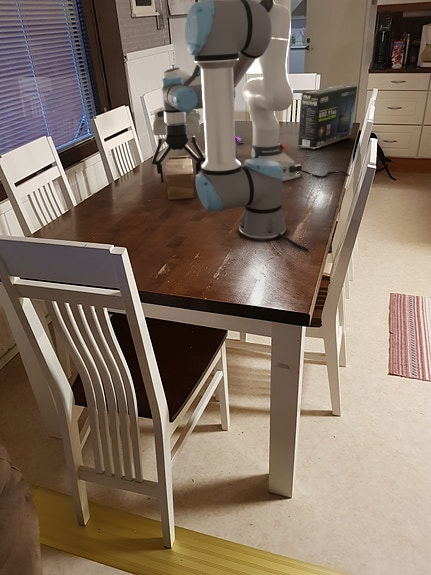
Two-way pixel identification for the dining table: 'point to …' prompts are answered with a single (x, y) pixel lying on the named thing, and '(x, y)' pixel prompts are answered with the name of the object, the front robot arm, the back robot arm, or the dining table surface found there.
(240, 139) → the handgun
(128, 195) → the dining table surface
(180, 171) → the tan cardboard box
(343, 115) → the router box
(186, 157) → the drawer
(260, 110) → the back robot arm
